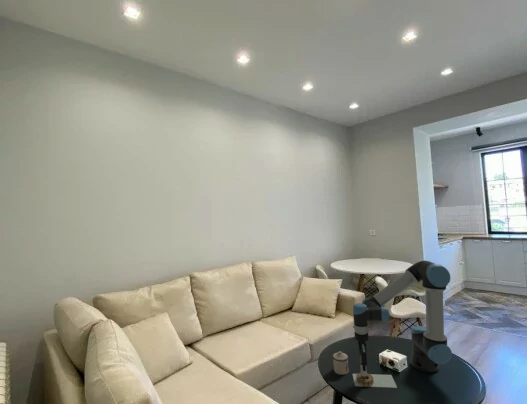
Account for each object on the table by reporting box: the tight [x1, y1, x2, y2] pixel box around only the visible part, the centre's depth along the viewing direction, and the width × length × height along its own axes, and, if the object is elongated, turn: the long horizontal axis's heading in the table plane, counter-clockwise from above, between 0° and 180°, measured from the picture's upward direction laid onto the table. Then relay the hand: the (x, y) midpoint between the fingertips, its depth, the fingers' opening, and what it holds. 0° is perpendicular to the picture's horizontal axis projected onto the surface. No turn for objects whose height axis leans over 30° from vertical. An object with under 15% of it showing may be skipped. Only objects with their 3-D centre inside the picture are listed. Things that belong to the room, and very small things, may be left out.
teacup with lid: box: [332, 350, 350, 376], centre depth 177 cm, size 12×9×12 cm
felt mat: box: [352, 373, 398, 389], centre depth 164 cm, size 22×12×1 cm, turn 80°
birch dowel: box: [359, 356, 367, 380], centre depth 163 cm, size 3×3×14 cm
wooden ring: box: [356, 372, 374, 388], centre depth 163 cm, size 9×9×2 cm
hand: (363, 373), depth 163 cm, fingers closed on birch dowel, 3 cm apart
